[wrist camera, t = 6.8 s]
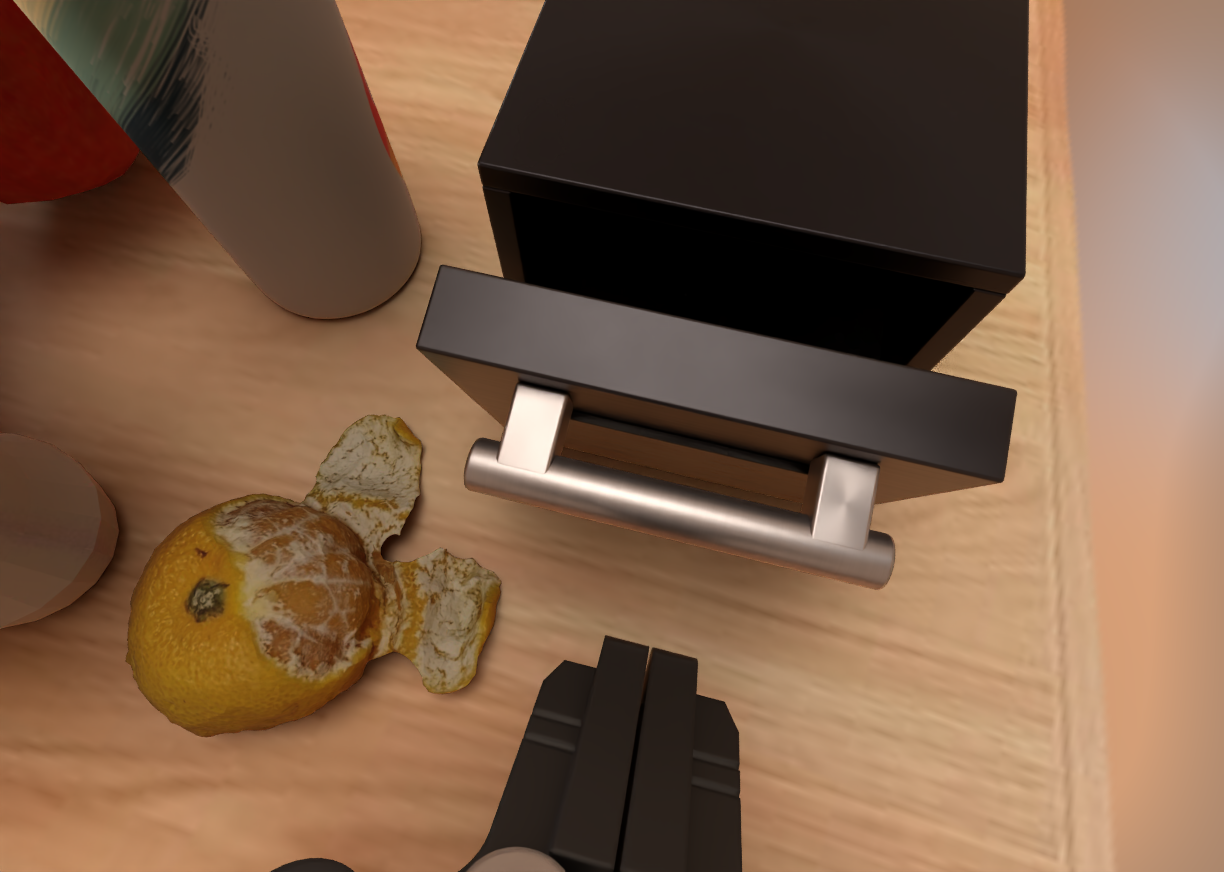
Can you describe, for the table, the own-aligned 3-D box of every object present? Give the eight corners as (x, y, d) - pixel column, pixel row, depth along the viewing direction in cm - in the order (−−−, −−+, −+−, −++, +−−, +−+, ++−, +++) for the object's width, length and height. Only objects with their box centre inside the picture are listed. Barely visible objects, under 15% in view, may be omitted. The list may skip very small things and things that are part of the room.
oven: (846, 454, 20) (1027, 277, 11) (527, 381, 20) (475, 163, 12) (876, 198, 23) (1031, -80, 15) (604, 144, 24) (606, -150, 16)
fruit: (531, 644, 17) (514, 632, 14) (231, 833, 16) (129, 872, 12) (400, 404, 20) (358, 344, 17) (129, 545, 18) (20, 510, 15)
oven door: (825, 583, 19) (985, 615, 10) (491, 501, 19) (377, 466, 11) (848, 459, 19) (1019, 389, 11) (523, 383, 20) (439, 261, 11)
